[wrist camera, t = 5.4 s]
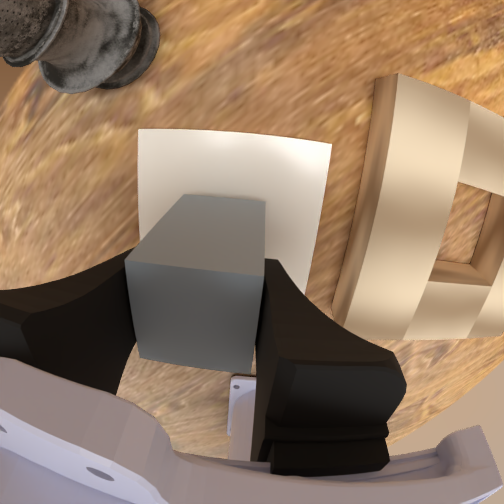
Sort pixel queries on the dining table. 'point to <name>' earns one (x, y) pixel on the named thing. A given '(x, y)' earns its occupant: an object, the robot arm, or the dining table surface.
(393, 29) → the dining table surface
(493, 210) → the pocket board
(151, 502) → the robot arm
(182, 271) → the peg
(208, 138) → the coaster
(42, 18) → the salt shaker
